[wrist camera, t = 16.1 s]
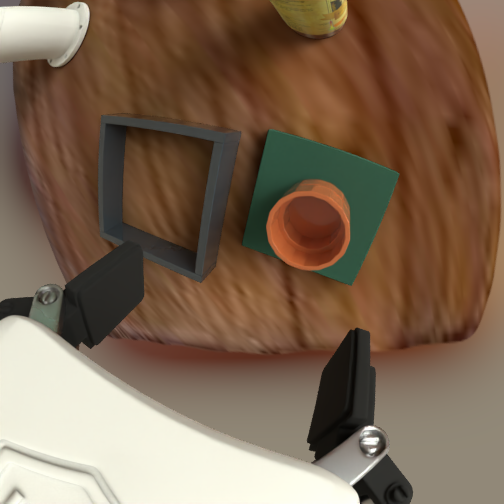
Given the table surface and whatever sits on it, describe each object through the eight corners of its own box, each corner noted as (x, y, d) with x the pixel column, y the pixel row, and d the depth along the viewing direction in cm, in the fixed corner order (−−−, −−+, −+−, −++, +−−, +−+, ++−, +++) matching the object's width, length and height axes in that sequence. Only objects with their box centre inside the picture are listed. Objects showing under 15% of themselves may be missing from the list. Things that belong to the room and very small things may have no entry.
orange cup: (274, 230, 28) (258, 253, 24) (291, 168, 25) (277, 179, 20) (336, 253, 27) (332, 281, 23) (359, 192, 24) (362, 209, 19)
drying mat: (245, 241, 32) (241, 245, 31) (271, 129, 25) (268, 129, 24) (351, 280, 29) (351, 286, 28) (397, 172, 23) (399, 174, 22)
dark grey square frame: (118, 226, 38) (100, 236, 34) (123, 112, 29) (101, 115, 26) (215, 266, 35) (201, 283, 31) (241, 131, 26) (225, 133, 23)
